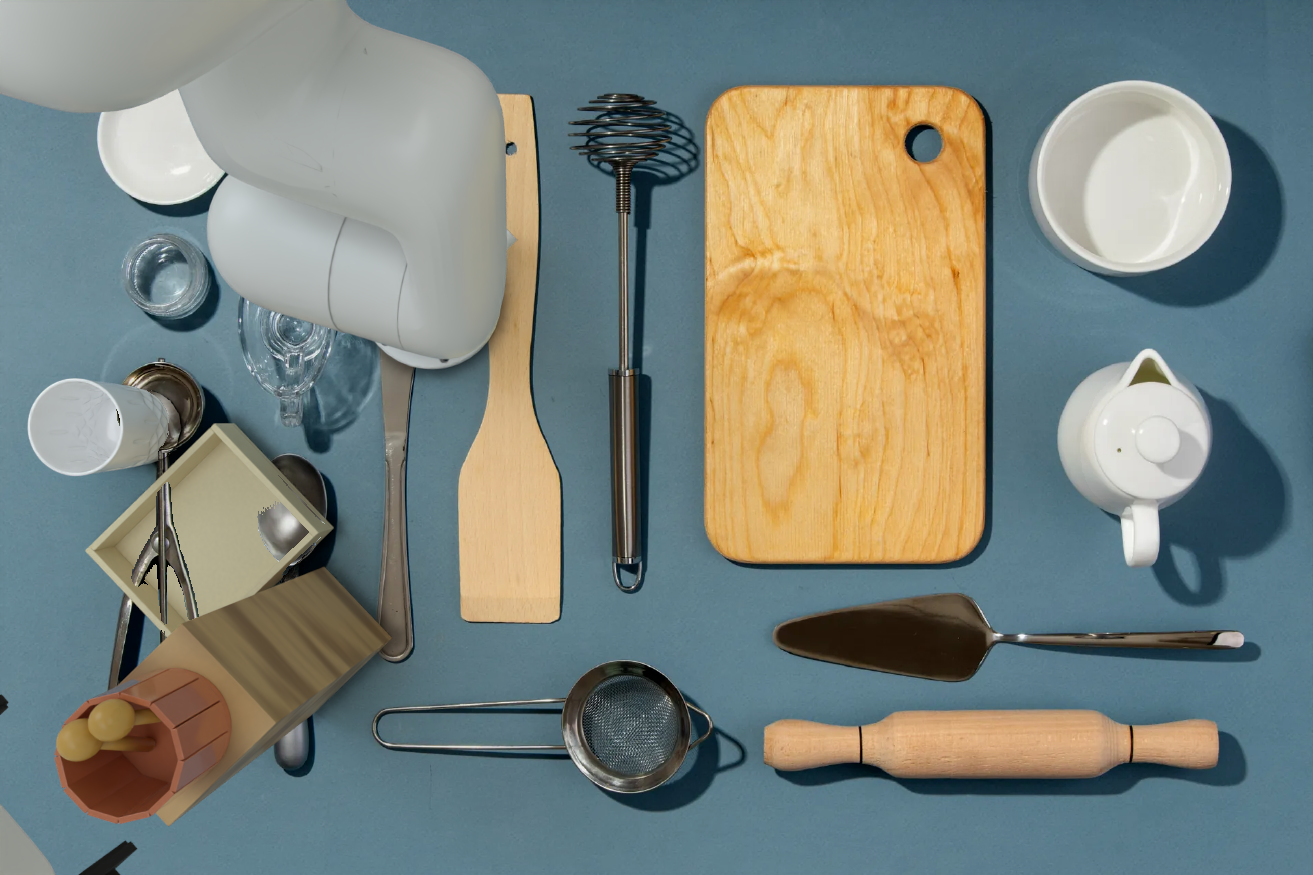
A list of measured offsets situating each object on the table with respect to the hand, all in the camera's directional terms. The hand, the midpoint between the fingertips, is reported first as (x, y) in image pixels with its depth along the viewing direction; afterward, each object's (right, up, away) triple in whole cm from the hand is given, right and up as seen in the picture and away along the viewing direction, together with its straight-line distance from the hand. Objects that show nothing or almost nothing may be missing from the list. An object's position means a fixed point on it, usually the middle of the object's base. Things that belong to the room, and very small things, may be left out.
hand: (49, 790), depth 47 cm
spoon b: (-2, -2, +14) cm, 14 cm away
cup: (-1, -1, +14) cm, 14 cm away
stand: (0, -1, +38) cm, 38 cm away
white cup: (-16, +19, +39) cm, 46 cm away
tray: (-9, +9, +38) cm, 40 cm away
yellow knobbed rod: (0, 0, +13) cm, 13 cm away
